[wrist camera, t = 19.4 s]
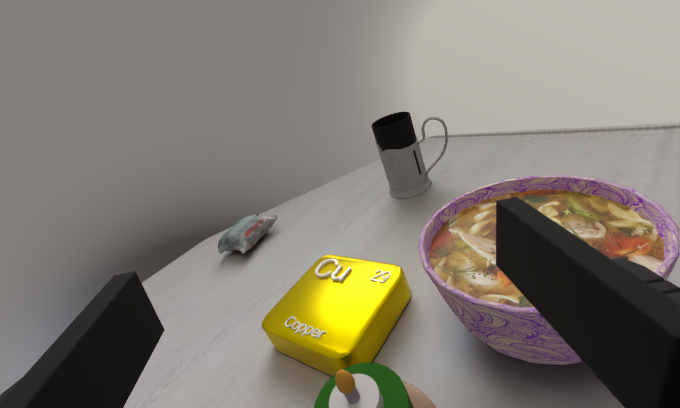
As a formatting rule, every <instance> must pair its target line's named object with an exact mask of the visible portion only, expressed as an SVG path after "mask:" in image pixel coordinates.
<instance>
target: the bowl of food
mask: <svg viewBox="0 0 680 408" xmlns="http://www.w3.org/2000/svg"><path fill="white" fill-rule="evenodd" d="M512 197H518V198H520V199H521V200H523V201H524V202H526V203H527V204H529V205H530V206H532V207H533V208H535V209H536V210H538V211H539V212H541V213H542V214H544V215H545V216H547V217H548V218H550V219H551V220H553V221H554V222H556V223H558V224H559V225H561V226H562V227H564V228H565V229H567V230H568V231H570V232H571V233H573V234H574V235H576V236H577V237H579V238H580V239H582V240H583V241H585V242H586V243H588V244H589V245H591V246H592V247H594V248H595V249H597V250H598V251H600V252H601V253H603V254H604V255H606V256H607V257H609V258H610V259H613V258H619V257H621V258H624V259H627V260H629V261H632V262H635V263H638V264H640V265H643V266H645V267H647V268H648V269H650V270H651V271H653V272H655V273H656V274H658V275H660V276H661V277H663V278H664V280H665V281H666V280H667V278H668V277H669V275H670V273H671V271H672V269H673V267H674V265H675V263H676V261H677V259H678V257H679V228H678V226H677V225H676V224H675V223H674V221H673V220H672V219H671V217H670V216H669V215H668V213H667V212H666V211H665V209H664V208H663V207H662V206H661V205H659V204H658V203H656V202H654V201H653V200H651V199H649V198H648V197H646V196H644V195H642V194H641V193H639V192H637V191H636V190H634V189H631V188H627V187H624V186H621V185H617V184H614V183H611V182H608V181H604V180H600V179H592V178H584V177H577V176H569V175H559V176H530V177H523V178H517V179H510V180H503V181H500V182H497V183H493V184H490V185H486V186H483V187H479V188H476V189H474V190H472V191H470V192H468V193H465V194H463V195H461V196H459V197H457V198H455V199H453V200H452V201H450V202H449V203H448V204H446V205H445V206H444V207H442V208H441V209H440V210H438V211H437V212H436V213H434V215H433V216H432V217H431V219H430V220H429V221H428V223H427V224H426V225H425V227H424V228H423V229H422V233H421V237H420V242H419V246H418V250H419V253H420V257H421V260H422V264H423V267H424V269H425V271H426V272H427V274H428V275H429V277H430V278H431V280H432V281H433V283H434V284H435V286H436V287H437V289H438V290H439V292H440V293H441V295H442V296H443V298H444V300H445V301H446V302H447V304H448V305H449V307H450V308H451V310H452V311H453V312H454V313H455V315H456V316H457V317H458V318H459V320H460V321H461V322H462V323H463V324H464V325H465V326H466V328H467V329H468V330H469V331H470V332H471V333H472V335H473V336H474V337H475V338H477V339H479V340H480V341H482V342H483V343H485V344H487V345H488V346H490V347H491V348H493V349H495V350H496V351H498V352H500V353H503V354H505V355H508V356H512V357H515V358H518V359H521V360H524V361H528V362H531V363H538V364H552V365H567V364H572V363H578V362H583V361H582V359H581V358H580V357H579V356H578V355H577V354H576V353H575V352H574V351H573V350H572V348H571V347H570V346H569V345H568V344H567V343H566V342H565V341H564V340H563V338H562V337H561V336H560V335H559V334H558V333H557V332H556V331H555V330H554V329H553V327H552V326H551V325H550V324H549V323H548V322H547V321H546V320H545V319H544V317H543V316H542V315H541V314H540V313H539V312H538V311H537V310H536V309H535V307H534V306H533V305H532V304H531V303H530V302H529V301H528V300H527V299H526V298H525V296H524V295H523V294H522V293H521V292H520V291H519V290H518V289H517V288H516V286H515V285H514V284H513V283H512V282H511V281H510V280H509V279H508V278H507V277H506V275H505V274H504V273H503V272H502V271H501V270H500V269H499V268H498V267H497V265H496V201H497V200H502V199H507V198H512Z"/></svg>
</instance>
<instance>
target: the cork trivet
mask: <svg viewBox="0 0 680 408" xmlns="http://www.w3.org/2000/svg"><path fill="white" fill-rule="evenodd" d="M402 382H403V384H404V386H405V388H406V390H407V393H408V395H409V397H410V400H411V402H412V405H413V407H414V408H436V407H435V406H434V404H433V403H432V402H431V400H430V399H429V398H428V397H427V396H426V395H425V394H424V393H423V392H422V391H420V390H419V389H418V388H416V387H414V386H413V385H411V384H409V383H406V382H404V381H402Z"/></svg>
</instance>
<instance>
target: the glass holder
mask: <svg viewBox="0 0 680 408" xmlns="http://www.w3.org/2000/svg"><path fill="white" fill-rule="evenodd" d="M432 119H434V120H438V121H440V122H441V123H442V124H443V126H444V129H445V145H444V149H443V151H442V153H441V155H440V156H439V157H438V159H437V160H436V161H435V162H434V163H433V164H432V165H431V166H430V168H429V169H428V170H427V172H426V169H425V165H424V162H423V158H422V154H421V150H420V147H419V143H421V142H423V141H424V140H425V132H424V126H425V124H426V122H427V121H429V120H432ZM372 129H373V132H374V135H375V141H376V144H377V148H378V150H379V154H380V157H381V160H382V163H383V166H384V169H385V172H386V176H387V179H388V182H389V185H390V195H391V196H392V197H394V198H399V199H404V198H410V197H414V196H417V195H420V194H422V193H423V192H425V191H426V190H428V189H429V188H430V186H431V180H430V179H429V178H428V172H429V171H430V170H431V169H432V168H433V166H434V165H435V164H436V163H437V162H438V161H439V160H440V158H441V157H442V156H443V154H444V152H445V150H446V146H447V142H448V133H447V127H446V125H445V123H444V121H443V120H442V119H440V118H438V117H430V118H428V119H426V120H425V121H424V123H423V125H422V135H423V140H420V141H418V139H417V137H416V135H415V132H414V128H413V124H412V120H411V117H410V113H409V112H399V113H394V114H391V115H388V116H385V117H383V118H381V119H379V120H377V121H375V122H374V123H373V124H372Z"/></svg>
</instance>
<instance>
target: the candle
mask: <svg viewBox="0 0 680 408" xmlns="http://www.w3.org/2000/svg"><path fill="white" fill-rule="evenodd" d="M314 408H414V407H413V405H412V402H411V400H410V397H409V395H408V393H407V390H406V388H405V386H404V384H403V382H402V380H401V379H400V377H399V376H398V375H397V374H396V373H395V372H394V371H392V370H391V369H389V368H388V367H386V366H383V365H381V364H377V363H371V362H370V363H359V364H354V365H352V366H349V367H346V368H345V369H343V370H339V371H338V372H337V373H336V374H335V375H334V376H333V377H332V378H331V379H330V380H329V381H328V382H327V383H326V384H325V386H324V387H323V388H322V390H321V391H320V393H319V395H318V397H317V399H316V402H315V405H314Z"/></svg>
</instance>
